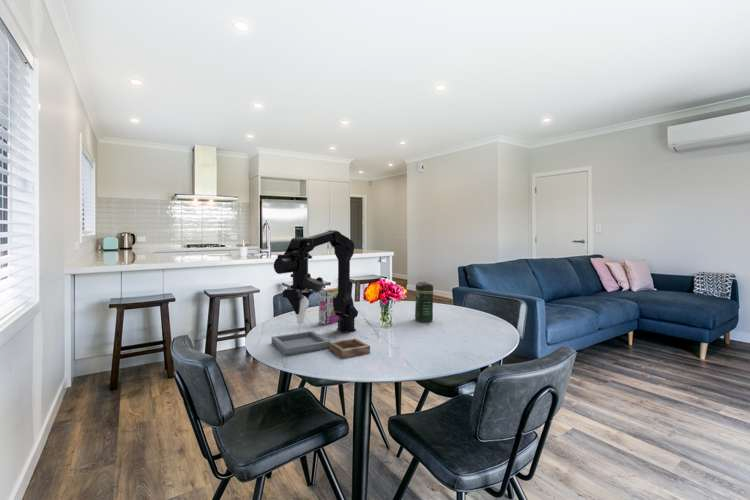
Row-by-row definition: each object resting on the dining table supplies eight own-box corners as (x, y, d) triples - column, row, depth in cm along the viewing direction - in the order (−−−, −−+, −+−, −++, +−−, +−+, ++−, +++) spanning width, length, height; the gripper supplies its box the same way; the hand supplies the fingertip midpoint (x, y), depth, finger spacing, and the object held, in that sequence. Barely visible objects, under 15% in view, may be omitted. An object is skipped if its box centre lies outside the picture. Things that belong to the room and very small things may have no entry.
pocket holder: (355, 344, 146) (355, 338, 146) (370, 352, 137) (370, 345, 136) (329, 349, 140) (329, 342, 140) (342, 358, 131) (342, 351, 131)
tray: (312, 336, 156) (312, 330, 156) (330, 348, 141) (330, 341, 141) (271, 343, 147) (271, 336, 147) (286, 356, 132) (286, 349, 132)
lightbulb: (301, 327, 139) (300, 297, 139) (288, 324, 143) (288, 295, 142) (312, 323, 145) (312, 294, 144) (300, 321, 148) (300, 293, 147)
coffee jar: (434, 322, 181) (435, 283, 180) (418, 322, 180) (419, 284, 178) (428, 317, 190) (429, 280, 189) (413, 317, 189) (413, 281, 188)
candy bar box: (326, 325, 173) (326, 290, 172) (318, 323, 176) (318, 288, 175) (342, 320, 182) (342, 286, 181) (334, 319, 185) (334, 285, 184)
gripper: (310, 275, 131) (311, 319, 132) (329, 269, 150) (329, 308, 151) (281, 274, 134) (281, 317, 135) (302, 268, 152) (303, 306, 153)
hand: (300, 312), depth 143 cm, fingers closed on lightbulb, 5 cm apart
